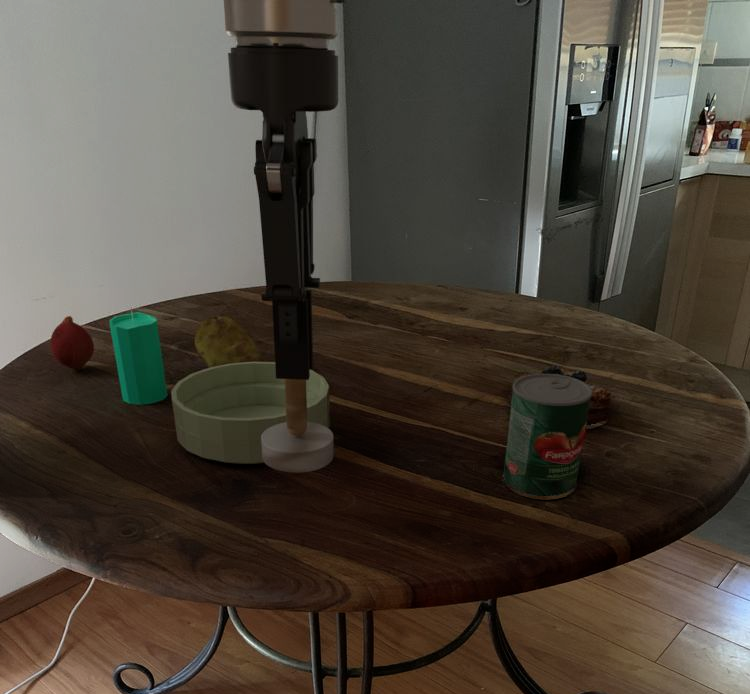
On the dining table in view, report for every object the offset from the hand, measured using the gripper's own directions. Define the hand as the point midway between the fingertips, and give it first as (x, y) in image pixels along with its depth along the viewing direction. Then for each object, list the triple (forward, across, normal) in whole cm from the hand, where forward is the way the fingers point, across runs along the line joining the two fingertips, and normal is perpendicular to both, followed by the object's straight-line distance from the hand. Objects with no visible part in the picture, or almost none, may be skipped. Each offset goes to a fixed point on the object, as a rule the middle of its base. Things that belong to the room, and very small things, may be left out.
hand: (294, 371), depth 62 cm
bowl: (+17, +22, +9) cm, 29 cm away
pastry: (+16, +31, -29) cm, 46 cm away
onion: (+17, +42, +39) cm, 60 cm away
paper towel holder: (+8, 0, 0) cm, 8 cm away
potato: (+17, +41, +16) cm, 47 cm away
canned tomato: (+16, +12, -24) cm, 32 cm away
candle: (+17, +33, +26) cm, 45 cm away
